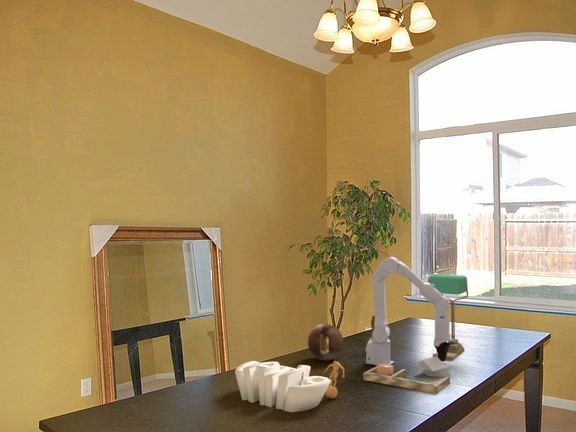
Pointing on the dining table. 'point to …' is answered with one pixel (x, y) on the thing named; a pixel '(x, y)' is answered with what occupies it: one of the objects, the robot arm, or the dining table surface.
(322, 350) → the wooden sphere
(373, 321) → the hand bell
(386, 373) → the tan smooth rounded piece
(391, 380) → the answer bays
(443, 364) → the wedge on round base
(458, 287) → the banker's lamp
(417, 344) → the dining table surface
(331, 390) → the figurine
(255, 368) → the white wavy slab sculpture
